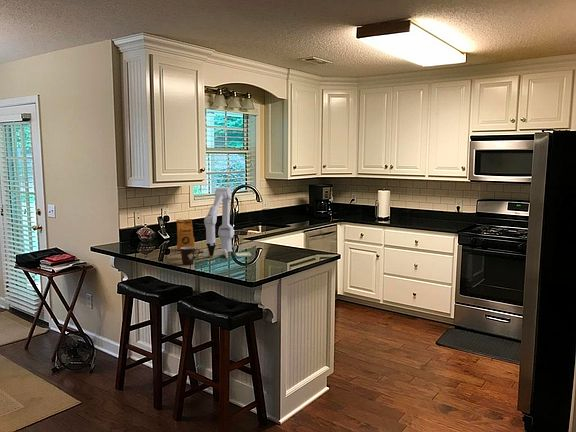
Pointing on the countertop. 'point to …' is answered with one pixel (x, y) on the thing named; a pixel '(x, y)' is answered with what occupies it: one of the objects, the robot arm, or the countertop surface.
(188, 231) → the coffee package
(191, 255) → the coffee mug
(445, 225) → the countertop surface
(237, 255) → the tray
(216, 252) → the acrylic walls
